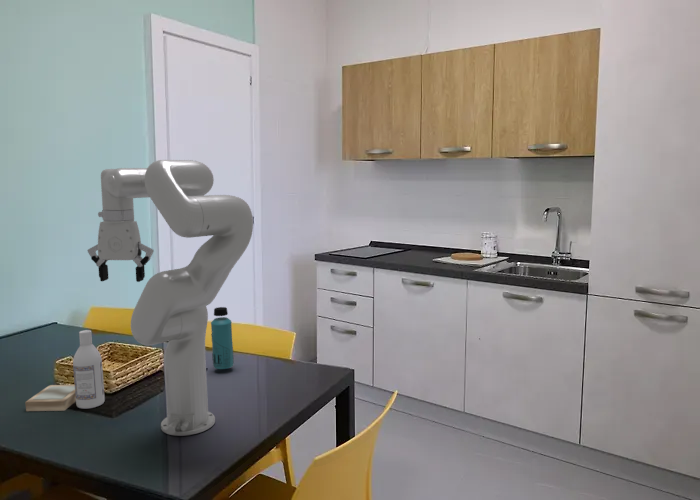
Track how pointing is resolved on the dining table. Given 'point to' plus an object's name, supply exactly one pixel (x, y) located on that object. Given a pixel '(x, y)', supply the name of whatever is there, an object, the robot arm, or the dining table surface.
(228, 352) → the beverage bottle
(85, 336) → the bath foam
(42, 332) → the dining table surface
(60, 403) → the plinth
